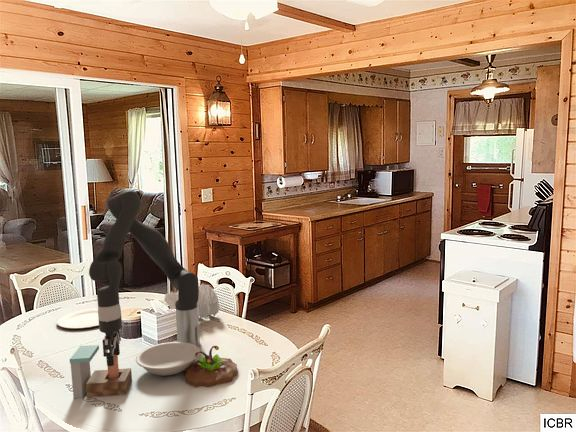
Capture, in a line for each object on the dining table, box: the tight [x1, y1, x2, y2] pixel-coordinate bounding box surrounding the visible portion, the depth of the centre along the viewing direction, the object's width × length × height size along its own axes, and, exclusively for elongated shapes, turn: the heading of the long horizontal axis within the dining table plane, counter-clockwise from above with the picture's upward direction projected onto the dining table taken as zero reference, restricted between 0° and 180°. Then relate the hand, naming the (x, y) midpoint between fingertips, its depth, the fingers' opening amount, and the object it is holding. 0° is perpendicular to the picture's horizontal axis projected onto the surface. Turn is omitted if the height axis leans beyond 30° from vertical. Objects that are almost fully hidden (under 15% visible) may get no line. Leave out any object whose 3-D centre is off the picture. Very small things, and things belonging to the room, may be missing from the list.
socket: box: [86, 367, 133, 398], centre depth 168 cm, size 13×10×5 cm
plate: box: [56, 307, 99, 330], centre depth 239 cm, size 29×29×2 cm
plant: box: [184, 345, 238, 388], centre depth 178 cm, size 20×20×11 cm
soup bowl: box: [135, 341, 201, 376], centre depth 182 cm, size 24×24×7 cm
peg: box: [107, 355, 120, 379], centre depth 168 cm, size 4×4×12 cm
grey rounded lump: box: [164, 282, 221, 320], centre depth 235 cm, size 18×18×25 cm
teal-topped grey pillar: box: [69, 344, 100, 399], centre depth 167 cm, size 6×11×14 cm, turn 6°
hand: (113, 360), depth 167 cm, fingers open, 8 cm apart
